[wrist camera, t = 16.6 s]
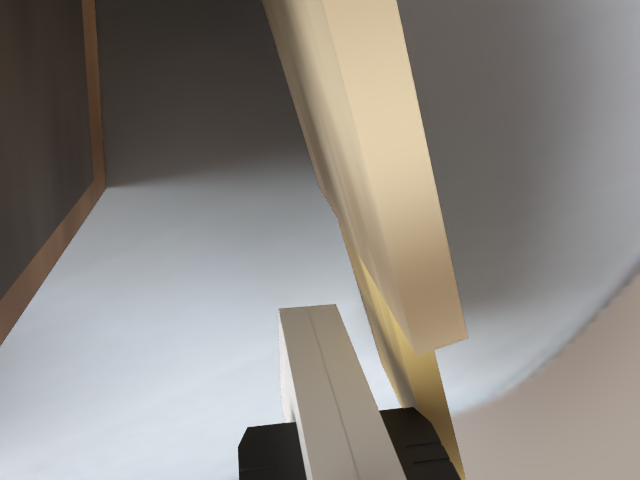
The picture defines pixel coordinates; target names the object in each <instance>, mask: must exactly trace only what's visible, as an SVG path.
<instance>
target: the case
mask: <svg viewBox="0 0 640 480" xmlns="http://www.w3.org/2000/svg"><path fill="white" fill-rule="evenodd" d="M105 189H106V181H105V165H104V148H103V131H102V114H101V97H100V81H99V64H98V47H97V30H96V14H95V0H0V346H1V344H2V343H3V341H4V340H5V338H6V337H7V335H8V334H9V332H10V331H11V329H12V328H13V327H14V325H15V324H16V322H17V321H18V319H19V318H20V316H21V315H22V313H23V312H24V310H25V309H26V307H27V306H28V304H29V303H30V301H31V300H32V298H33V297H34V295H35V294H36V292H37V291H38V289H39V288H40V286H41V285H42V283H43V282H44V280H45V279H46V277H47V276H48V274H49V273H50V271H51V270H52V268H53V267H54V265H55V264H56V262H57V261H58V259H59V258H60V256H61V255H62V253H63V252H64V250H65V249H66V248H67V246H68V245H69V243H70V242H71V240H72V239H73V237H74V236H75V234H76V233H77V231H78V230H79V228H80V227H81V225H82V224H83V222H84V221H85V219H86V218H87V216H88V215H89V213H90V212H91V210H92V209H93V207H94V206H95V204H96V203H97V201H98V200H99V198H100V197H101V195H102V194H103V192H104V191H105Z"/></svg>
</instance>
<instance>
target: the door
mask: <svg viewBox="0 0 640 480" xmlns="http://www.w3.org/2000/svg"><path fill="white" fill-rule="evenodd" d="M262 3H263V6H264V9H265V12H266V15H267V19H268V22H269V25H270V28H271V32H272V35H273V38H274V41H275V45H276V48H277V51H278V54H279V57H280V61H281V64H282V67H283V70H284V74H285V77H286V80H287V83H288V87H289V90H290V93H291V96H292V99H293V103H294V106H295V109H296V112H297V116H298V119H299V122H300V125H301V128H302V132H303V135H304V138H305V141H306V145H307V148H308V151H309V154H310V158H311V161H312V164H313V167H314V170H315V174H316V177H317V180H318V183H319V187H320V189H321V191H322V192H323V194H324V196H325V198H326V199H327V201H328V203H329V205H330V206H331V208H332V210H333V211H334V213H335V215H336V217H337V218H338V222H339V225H340V228H341V232H342V235H343V238H344V241H345V245H346V248H347V251H348V255H349V258H350V261H351V265H352V268H353V271H354V274H355V278H356V281H357V284H358V288H359V291H360V294H361V298H362V301H363V304H364V308H365V311H366V314H367V317H368V321H369V324H370V327H371V331H372V334H373V337H374V341H375V344H376V347H377V351H378V354H379V357H380V360H381V364H382V366H383V368H384V370H385V372H386V374H387V377H388V379H389V381H390V383H391V385H392V387H393V390H394V392H395V394H396V396H397V398H398V401H399V403H400V405H401V407H402V408H407V407H414V408H415V409H416V410H417V411H419V412H420V413H421V414H422V415H423V416H424V417H426V418H427V419H428V420H429V421H430V422H431V423H432V425H433V427H434V429H435V431H436V433H437V434H438V436H439V438H440V440H441V444H442V445H443V446H444V448H445V450H446V452H447V454H448V455H449V457H450V462H452V463H453V465H454V467H455V469H456V471H457V473H458V475H459V477H460V478H461V480H466V478H465V474H464V471H463V466H462V462H461V458H460V454H459V450H458V445H457V442H456V438H455V433H454V430H453V425H452V422H451V417H450V413H449V409H448V405H447V401H446V397H445V393H444V389H443V385H442V381H441V377H440V373H439V369H438V365H437V361H436V357H435V352H434V350H436V349H439V348H441V347H444V346H447V345H450V344H453V343H455V342H458V341H461V340H464V339H467V338H468V336H467V332H466V327H465V322H464V317H463V313H462V308H461V303H460V298H459V294H458V289H457V284H456V280H455V275H454V270H453V265H452V261H451V256H450V251H449V246H448V242H447V237H446V232H445V228H444V223H443V218H442V213H441V209H440V204H439V199H438V195H437V190H436V185H435V180H434V176H433V171H432V166H431V161H430V157H429V152H428V147H427V143H426V138H425V133H424V128H423V124H422V119H421V114H420V109H419V105H418V100H417V95H416V91H415V86H414V81H413V76H412V72H411V67H410V62H409V57H408V53H407V48H406V43H405V39H404V34H403V29H402V24H401V20H400V15H399V10H398V5H397V1H396V0H262Z"/></svg>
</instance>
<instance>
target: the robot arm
mask: <svg viewBox="0 0 640 480" xmlns="http://www.w3.org/2000/svg"><path fill="white" fill-rule="evenodd" d="M279 340H280V374H281V398H282V405H283V411H284V417H285V423H281V424H272V425H263V426H255V427H247V430H246V432H245V434H244V436H243V438H242V440H241V442H240V444H239V446H238V460H239V480H461V478H460V477H459V475H458V473H457V471H456V469H455V467H454V465H453V463H452V462H450V457H449V455H448V454H447V452H446V450H445V448H444V446H443V445H442V444H441V440H440V438H439V436H438V434H437V433H436V431H435V429H434V427H433V425H432V423H431V422H430V421H429V420H428V419H427V418H426V417H424V416H423V415H422V414H421V413H420V412H419V411H417V410H416V409H415V408H414V407H407V408H398V409H389V410H381V411H379V410H378V407H377V405H376V402H375V400H374V397H373V395H372V393H371V390H370V388H369V385H368V383H367V380H366V378H365V375H364V373H363V370H362V368H361V365H360V363H359V360H358V358H357V355H356V353H355V351H354V348H353V346H352V343H351V341H350V338H349V336H348V333H347V331H346V328H345V326H344V323H343V321H342V318H341V316H340V313H339V311H338V309H337V306H336V304H332V305H319V306H307V307H295V308H282V309H279Z"/></svg>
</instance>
